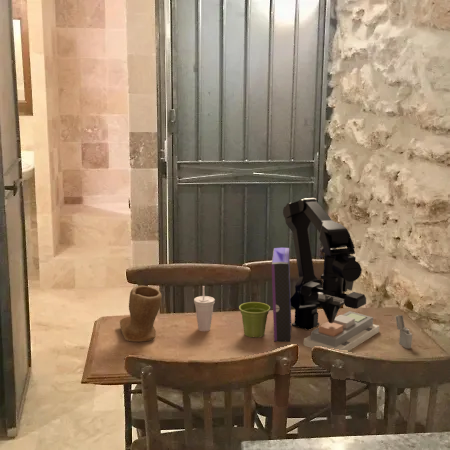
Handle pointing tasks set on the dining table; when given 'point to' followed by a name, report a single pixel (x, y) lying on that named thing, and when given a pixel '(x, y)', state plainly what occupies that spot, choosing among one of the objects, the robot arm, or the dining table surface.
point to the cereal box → (281, 295)
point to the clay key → (331, 329)
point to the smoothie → (204, 311)
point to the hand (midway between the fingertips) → (331, 322)
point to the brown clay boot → (141, 314)
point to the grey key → (345, 321)
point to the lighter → (403, 333)
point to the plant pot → (254, 318)
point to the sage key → (356, 317)
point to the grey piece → (344, 335)
